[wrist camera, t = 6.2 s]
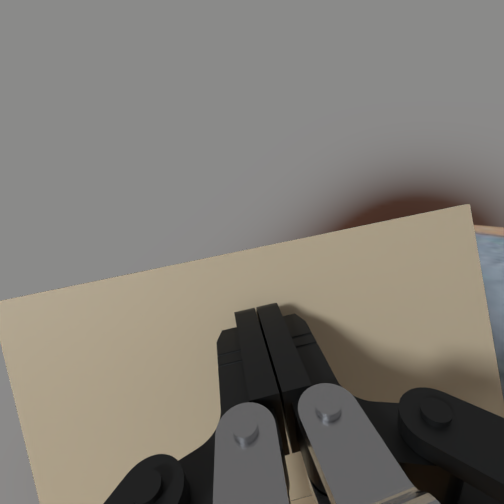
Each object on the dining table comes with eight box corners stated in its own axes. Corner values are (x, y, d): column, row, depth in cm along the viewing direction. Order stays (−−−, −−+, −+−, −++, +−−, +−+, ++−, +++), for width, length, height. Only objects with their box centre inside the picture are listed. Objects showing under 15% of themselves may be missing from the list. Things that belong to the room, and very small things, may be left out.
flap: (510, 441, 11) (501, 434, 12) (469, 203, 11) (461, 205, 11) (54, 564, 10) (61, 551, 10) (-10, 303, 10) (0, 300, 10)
